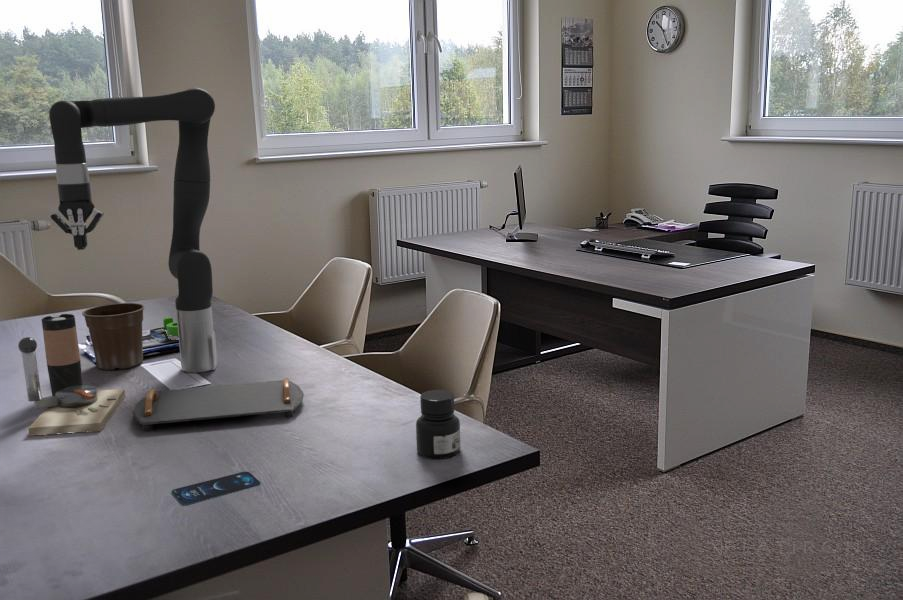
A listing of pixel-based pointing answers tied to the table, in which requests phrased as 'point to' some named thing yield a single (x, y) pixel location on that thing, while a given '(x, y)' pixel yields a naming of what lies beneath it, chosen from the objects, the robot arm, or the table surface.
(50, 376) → the travel mug
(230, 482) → the smartphone
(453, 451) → the ink bottle
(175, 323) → the tape dispenser
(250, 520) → the table surface
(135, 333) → the plant pot
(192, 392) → the serving board
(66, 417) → the flat beige board
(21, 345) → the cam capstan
